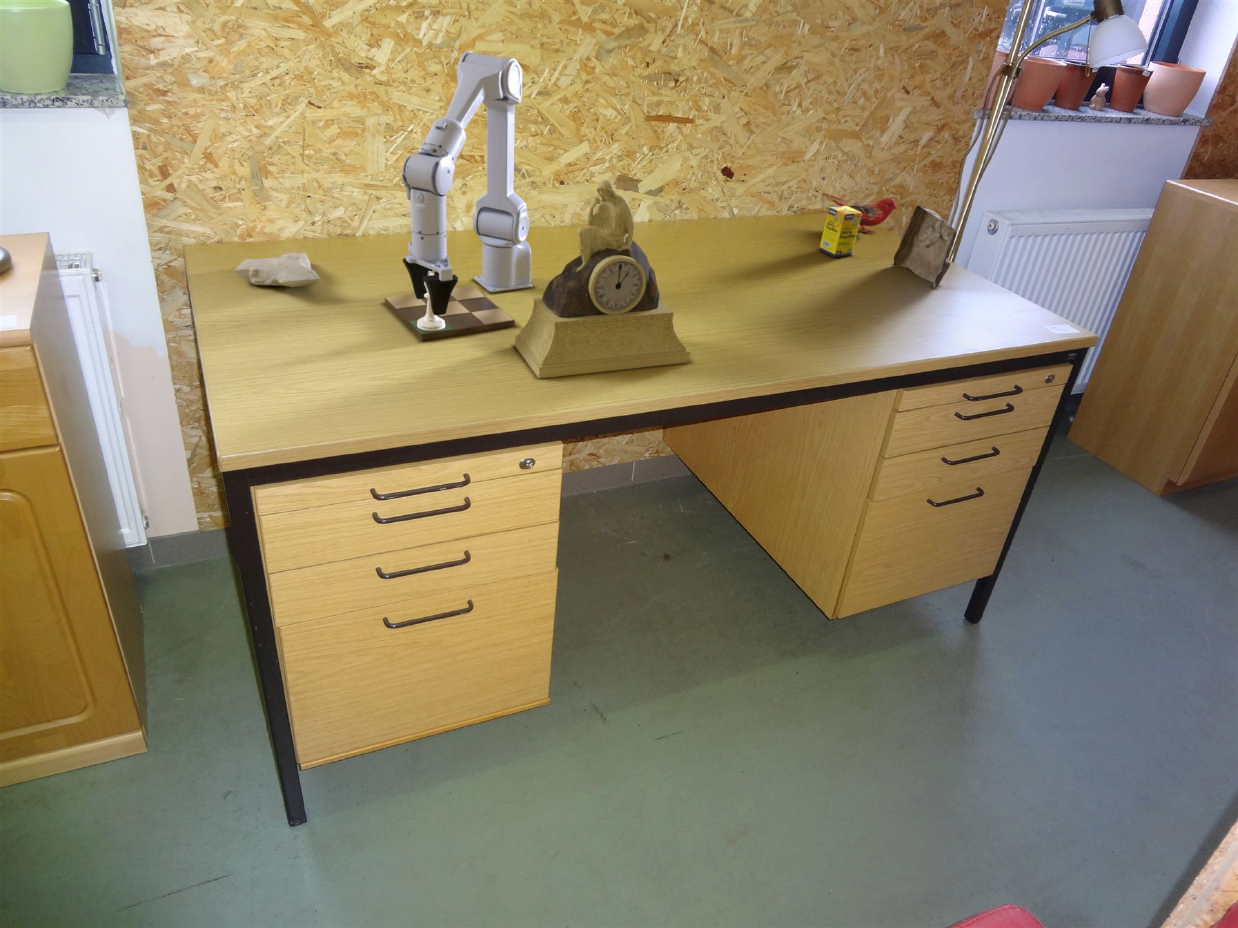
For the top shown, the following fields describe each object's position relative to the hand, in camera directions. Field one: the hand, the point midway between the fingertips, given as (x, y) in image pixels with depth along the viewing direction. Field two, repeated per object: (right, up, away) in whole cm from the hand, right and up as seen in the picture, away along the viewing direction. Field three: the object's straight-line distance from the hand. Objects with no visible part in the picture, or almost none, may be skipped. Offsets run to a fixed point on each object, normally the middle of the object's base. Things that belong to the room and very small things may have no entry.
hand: (430, 306), depth 151 cm
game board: (+1, 0, +10) cm, 10 cm away
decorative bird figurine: (+98, +36, +84) cm, 135 cm away
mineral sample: (+105, +17, +55) cm, 120 cm away
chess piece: (0, -3, +2) cm, 4 cm away
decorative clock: (+30, -8, +2) cm, 31 cm away
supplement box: (+87, +25, +65) cm, 111 cm away
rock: (-33, +7, +15) cm, 37 cm away
